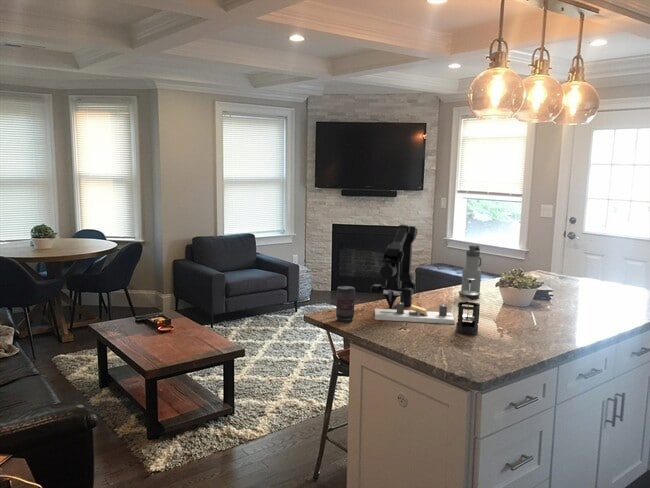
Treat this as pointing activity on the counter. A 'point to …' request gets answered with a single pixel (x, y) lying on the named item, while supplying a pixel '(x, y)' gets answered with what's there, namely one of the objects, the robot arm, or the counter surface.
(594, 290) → the counter surface
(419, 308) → the tan block
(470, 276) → the water bottle
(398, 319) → the panel
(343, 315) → the camera lens
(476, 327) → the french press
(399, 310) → the slider
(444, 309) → the slider
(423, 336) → the counter surface
